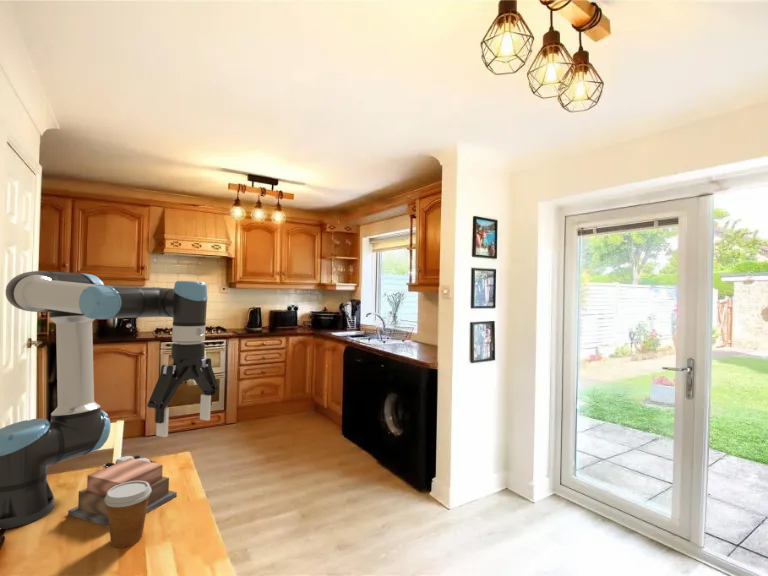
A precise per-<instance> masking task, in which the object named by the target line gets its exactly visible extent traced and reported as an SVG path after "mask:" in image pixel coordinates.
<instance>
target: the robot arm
mask: <svg viewBox="0 0 768 576" xmlns="http://www.w3.org/2000/svg"><path fill="white" fill-rule="evenodd" d="M173 286H174V287H173V288H172V287H171V288H170V287H169V288H168V287H155V286H153V287H145V286H142V287H141V286H140V287H139V286H123V285H121V286H119V285H108V284H107V285H105V283H104V282H103V280H101V279H100V278H99V277H98V276H96V275H95V274H89V273H83V272H63V271H48V270H47V271H46V270H34V271H33V270H32V271H25V272H23V273H20V274H17V275H16V276H13V278H12V279H10V280H9V282H8V283H7V284H6V286H5V297H6V299H7V301H8V302H9V304H10V305H11V306H13V307H14V308H17V309H19V310H22V311H25V312H32V313H48V315H49V318H48V319H49V320H50V321H51V322H53V323H54V324H55V326H56V327H55V329H56V331H55V334H56V336H55V338H56V341H55V343H56V380H57V381H56V382H57V383H56V385H57V386H56V387H57V389H56V392H57V394H56V395H57V406H56V408H55V409H54V410H53V411H52V412H51V413H50V421H49V420H48V419H46V418H32V419H26V420H25V419H24V420H22V421H18V422H14V423H11V424H8V425H6V426H4V427H1V428H0V528H1V529H5V530H8V528H10V529H13V528H12V527H14V528H18V527H21V526H24V525H27V524H30V523H33V522H35V521H37V520H39V519H41V518H43V517H44V516H47V514H49V513H51V511H52V510H53V509H54V507H55V506H54V505H55V496H54V494H53V491H52V489H51V487H50V484H49V481H48V467H50V466H53V465H56V464H59V463H62V462H66V461H69V460H72V459H75V458H78V457H82V456H86V455H89V454H90V453H92V452H96V451H98V450H100V449H101V448H102V447H103V446H104V445H105V444H106V443H107V441H108V439H109V437H110V433H111V425H112V424H111V419H110V418H109V414H108V413H107V412H105V411H104V410H103V409H101V405H100V404H98V402H96V401H95V381H94V379H95V378H94V377H95V376H94V343H93V342H94V341H93V335H94V334H93V322H95V320H108V319H109V320H110V319H124V318H125V319H126V318H136V319H137V318H160V317H162V318H172V330H171V331H172V333H171V334H172V335H171V342H173V343H172V344H171V353H170V355H171V356H170V357H171V358H172V360H173V362H172V364H171V365H169V364H168V365H167V364H162V365H161V368H160V374H159V376H158V378H157V382H156V383H155V386H154V389H153V391H152V393H151V395H150V397H149V400H148V401H147V408H149V409H150V408H151V409H154V410H155V413H154V414H155V415H154V422H155V424H156V429H155V430H156V433H155V436H156V437H162V438H168V436H169V419H170V418H169V416H170V408H169V407H168V405H169V404H170V401H171V400H172V398H173V397H174V396H175V393H176V392H177V390H178V389H179V387H180V386H181V385H183V383H184V382H186V381H190V380H194V382H195V383H196V384H197V386H198V387H199V389H200V391H201V392H202V393H203V394H200V402H199V403H200V406H199V420H201V421H208V422H209V421H211V407H212V404H213V396H215V395H216V394H217V391H218V390H219V385H218V382H217V378H216V376H215V374H214V370H213V367H212V359H211V358H208V357H205V351H206V350H205V349H206V348H205V347H206V345H205V343H204V341H205V340H206V325H207V322H206V321H207V307H208V306H207V305H208V304H207V303H208V299H209V298H208V286H207V284H206V282H204V281H196V280H195V281H194V280H193V281H192V280H177V281H175V282H174V285H173ZM17 526H18V527H17Z"/></svg>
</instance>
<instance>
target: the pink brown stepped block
mask: <svg viewBox="0 0 768 576" xmlns="http://www.w3.org/2000/svg"><path fill="white" fill-rule="evenodd" d="M133 458H134V457H133ZM133 458H130V459H127V460H125V461H122V462H120V463H117V464H116V463H114V464H115V465H112V466H110V467H107V468H102V469H100V470H97V471H94V472H93V473H90V474H87V478H86V479H87V483H86V488H84V489H82V490H79V491H78V498H77V499H78V501H77V502H78V503H77V504H78V505H77V506H75V507H72V508H70V509H68V510H67V516H71V517H74V518H77V519H80V520H84V521H87V522H90V523H94V524H97V525H100V526H104V527H107V528H109V520H108V511H107V505H106V502H105V500H104V499H105V497H106V495H107V492H108V491H109V490H110V489H111V488H112V487H114V486H116V485H119V484H122V483H125V482H130V481H146V482H148V483H149V485H150V487H151V489H152V491H151V493H150V495H149V499H148V505H147V511H146V514H148V513H149V512H151V511H153V510H155V509H157V508H159V507H160V506H162V505H164V504H165V503H168V502H169V501H171V500H173V499H174V498H176V497H177V494H178V492H176V491H173V490H170V477H167V476H163V466H164V465H163V464H160V463H157V462H154V463H152V462H147V461H142V460H137V459H133Z"/></svg>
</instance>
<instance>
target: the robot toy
mask: <svg viewBox="0 0 768 576" xmlns="http://www.w3.org/2000/svg"><path fill="white" fill-rule="evenodd" d="M130 458H133V459H137V460H142V461H147V462H152V463H158V461H157V460H155V461H153V460H151V459H149V458H147V457H141V455H139V454H138V455H134V456H132V455H126V456H122V457H118V458H117V459H116V460H115V462H108V463H105V464H103V465H102V469H105V468H107V467H106V466H108V467H110V466H112V465H115V464H117V463H120V462H122V461H125V460H127V459H130Z"/></svg>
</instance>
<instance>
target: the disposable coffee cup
mask: <svg viewBox="0 0 768 576" xmlns="http://www.w3.org/2000/svg"><path fill="white" fill-rule="evenodd" d="M151 491H152V489H151V487H150V485H149V483H148V482H146V481H130V482H125V483H122V484H119V485H116V486H114V487H112V488H111V489H110V490H109V491H108V492H107V495H106V497H105V499H104V500H105V502H106V505H107V511H108V520H109V527H108V528H109V538H110V545H111V546H112V547H114V548H126V547H129V546H132V545H135V544H136V543H138V542H140V540H141V539H142V538H143V532H144V527H145V522H146V515H147V513H146V511H147V505H148V499H149V495H150V493H151Z"/></svg>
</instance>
